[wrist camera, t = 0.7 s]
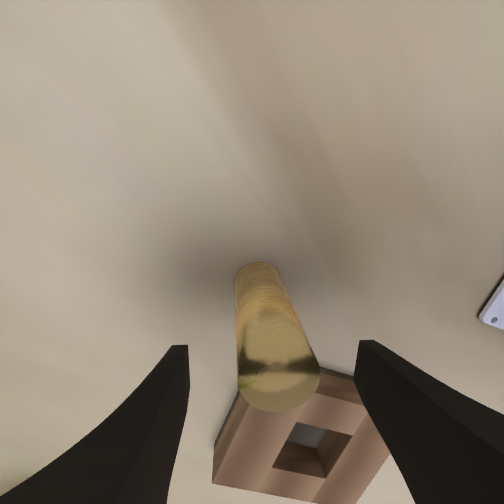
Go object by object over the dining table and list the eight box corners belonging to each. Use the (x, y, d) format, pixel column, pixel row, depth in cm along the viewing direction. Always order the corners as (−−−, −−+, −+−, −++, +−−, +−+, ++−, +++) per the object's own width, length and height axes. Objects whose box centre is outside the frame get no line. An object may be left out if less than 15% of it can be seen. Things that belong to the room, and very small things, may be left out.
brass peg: (287, 270, 19) (334, 356, 10) (269, 309, 20) (299, 419, 11) (244, 255, 18) (256, 333, 10) (228, 296, 19) (225, 401, 11)
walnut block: (390, 387, 23) (413, 419, 20) (337, 471, 25) (351, 509, 22) (257, 349, 21) (262, 378, 18) (214, 444, 23) (211, 483, 20)
